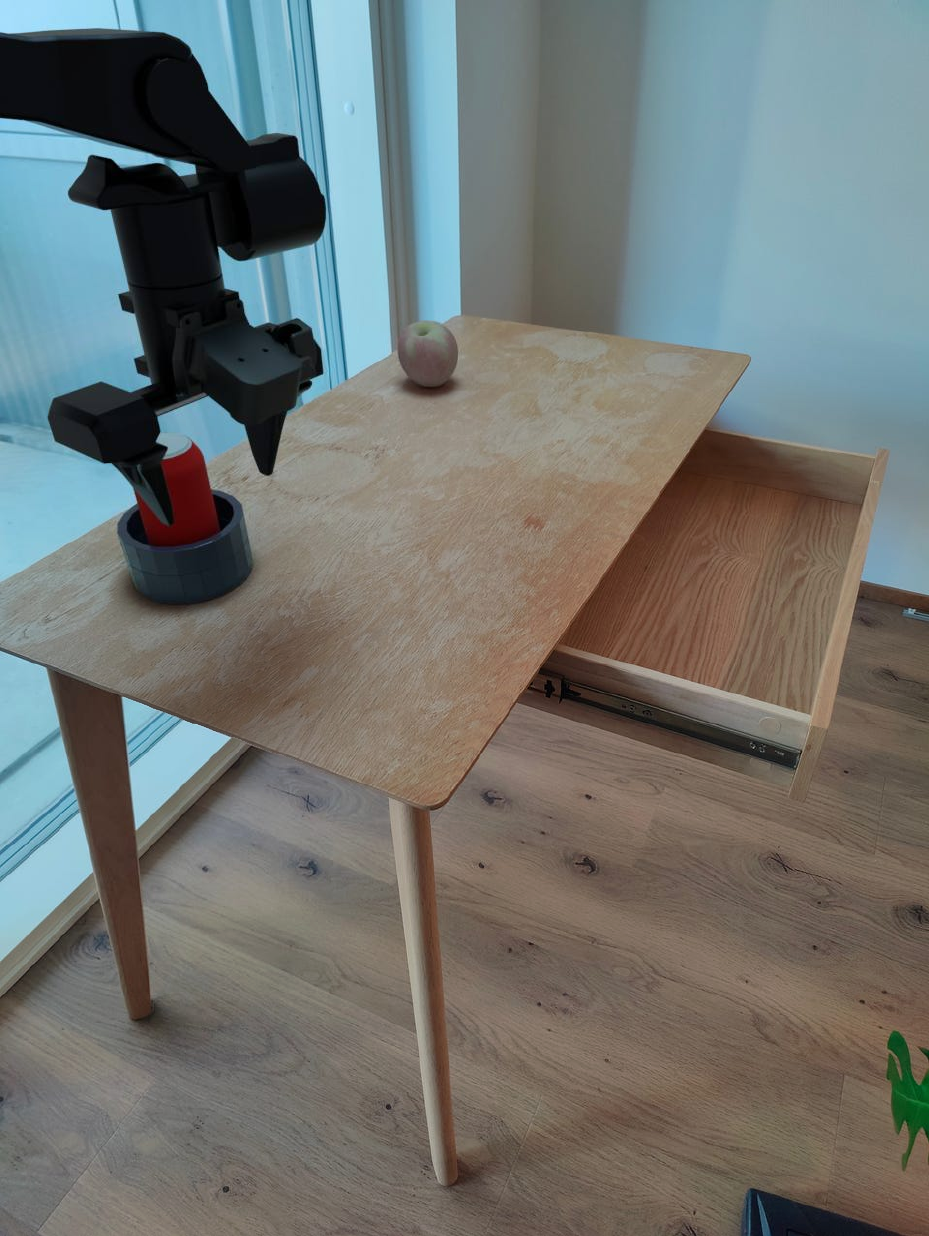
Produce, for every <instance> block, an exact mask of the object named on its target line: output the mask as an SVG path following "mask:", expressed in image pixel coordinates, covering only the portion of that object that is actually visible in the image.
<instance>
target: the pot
mask: <svg viewBox="0 0 929 1236" xmlns="http://www.w3.org/2000/svg"><path fill="white" fill-rule="evenodd" d="M211 491H212V495H213V500H214V505H215V509H216V514H217V518H218V523H219V527H220V532H219V533H217V534H215V535H214V536H212V537H210V538H208V539H205V540H202V541H199V542H196V543H193V544H187V545H181V546H175V547H156V546H151V545H149V542H148V539H147V535H146V532H145V528H144V525H143V521H142V518H141V514H140V511H139V507H138V504H137V503H135V504H134V505H133V506H132V507H130V508H129V509H128V510H126V511H125V512H124V513H123V514H122V516H121V517H120V519H119V520H118V522H117V525H116V528H117V529H116V534H117V537H118V540H119V544H120V548H121V551H122V553H123V556H124V560H125V563H126V567H127V570H128V573H129V576H130V580H131V581H132V583H133V586H134V589H135V590H136V591H137V592H138V593H139V595H141V596H142V597H144V598H146V599H148V600H150V601H152V602H156V603H160V604H164V605H165V604H166V605H190V604H191V605H192V604H197V603H198V604H199V603H202V602H206V601H211V600H213V599H216V598H219V597H222V596H224V595H226V594H228V593H229V592H231V591H233V590H234V589H236V588H237V587H239V586H240V585H241V584H242V583H243V582H245V581H246V579H248V577H249V575H250V574H251V571H252V569H253V565H254V559H253V554H252V550H251V549H252V548H251V543H250V539H249V534H248V529H247V524H246V519H245V514H244V509H243V504H242V503H241V502H240V501H239V500H238V499H237V498H236V497H235V496H234V495H232V494H229V493H227V492H225V491H222V490H218V489H212V488H211Z"/></svg>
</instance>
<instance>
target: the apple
mask: <svg viewBox="0 0 929 1236" xmlns="http://www.w3.org/2000/svg"><path fill="white" fill-rule="evenodd" d="M397 358H398V362H399V364H400V366H401V368H402V370H403V372H404V373H405V375H406V376H407V377H408V378H409V379H410V380H411V381H413V382H414V383H416V384H417V385H419V386H422V387H424V388H438V387H440V386H442V385H444V384H445V383H446V382H447V381H448V380H449V379H450V378H451V377H452V376H453V374H454V373H455V370H456V368H457V365H458V360H459V346H458V343H457V339H456V338H455V336H454V334H453V333H452V331H451V330H450V329H449V328H448V327H447V326H445V324H443V323H441V322H439V321H436V320H427V319H426V320H419V321H416V322H412V323H410V324H409V325H407V326H406V327H405V328H404V329H403V330H402V332H401V334H400V336H399V338H398V344H397Z"/></svg>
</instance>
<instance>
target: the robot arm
mask: <svg viewBox="0 0 929 1236" xmlns="http://www.w3.org/2000/svg"><path fill="white" fill-rule="evenodd" d="M0 119H3V120H15V121H24V122H28V123H32V124H35V125H37V126H41V127H44V128H47V129H51V130H54V131H57V132H61V133H63V134H67V135H71V136H75V137H77V138H81V139H85V140H89V141H91V142H95V143H99V144H102V145H106V146H111V147H114V148H115V147H116V148H120V149H125V150H129V151H134V152H139V153H144V154H149V155H152V156H154V157H155V158H159V159H166V160H169V161H174V162H177V163H178V162H179V163H184V164H189V165H193V166H194V168H195V173H191V174H184V175H179V174H178V173H177V172H176V171H175V170H174V169H172V168H171V167H170V166H168V165H166V164H164V163H161V162H152V163H146V164H138V165H137V164H136V165H131V166H124V167H120V165H118V163H117V162H116V161H115V160H114V159H113V158H110V157H106V156H101V155H96V154H90V155H88V157H87V162H86V164H85V167H84V169H83V171H82V172H81V174H80V175H78V177H77V178H76V179H75V181H74V182H73V183H72V184H71V186H70V187H69V188H68V190H67V196H68V199H69V200H70V201H72V203H76V204H78V205H79V204H80V205H84V206H86V207H90V208H93V209H96V210H101V211H110V213H111V218H112V222H113V226H114V231H115V235H116V239H117V243H118V248H119V252H120V256H121V260H122V264H123V269H124V273H125V278H126V282H127V287H128V290H127V291H124V292H121V293H118V294H117V296H118V299H119V304H120V308H121V311H123V312H126V313H130V314H132V315H134V317H135V321H136V325H137V329H138V334H139V338H140V342H141V347H142V352H143V354H142V355H140V356H137V357H134V358H133V362H134V366H135V368H136V374H138V375H141V376H144V377H146V378H149V381H150V384H149V385H146V386H144V387H140V388H139V389H136V390H133V391H131V392H130V391H128V390H125V389H123V388H120V387H117V386H114V385H112V384H110V383H107V382H104V381H98V382H94V383H93V384H90V385H86V386H84V387H81V388H78V389H75V390H72V391H70V392H67V393H64V394H61V395H59V396H56V397H53V398H52V400H51V404H50V405H49V408H48V413H47V416H46V417H47V421H48V424H49V428H50V430H51V433H52V436H53V437H52V438H53V439H54V442H55V443H57V444H60V445H61V446H64V447H66V448H68V449H70V450H72V451H74V452H77V453H79V454H81V455H84V456H85V457H89V458H91V459H92V460H95V461H97V462H99V463H101V464H104V465H105V464H111V465H112V466H113V467H114V468H115V469H116V470H117V471H118V472H119V473H120V474H121V475H122V476H123V477H124V479H126V481H127V482H128V483H129V484H130V486H131V487H132V489H133V488H134V489H135V490H136V492H137V493H138V494H139V495H140V497H141V498H142V499H143V500H144V502H145V503H146V504H147V505H148V506H149V508H150V509H151V510H152V511H153V513H154V514H155V515H156V516H157V517H158V519H159V520H160V521H161V522H162V523H163V524H166V525H168V526H172V525H174V524H175V520H174V511H173V505H172V502H171V498H170V494H169V490H168V487H167V483H166V479H165V475H164V472H163V468H162V460H163V458H164V456H165V454H166V452H167V450H168V447H167V446H165V445H162V444H160V443H157V442H156V440H157V438H158V436H159V434H160V433H162V430H161V426H160V421H159V417H160V416H163V415H166V414H167V413H170V412H173V411H175V410H178V409H180V408H183V407H186V406H188V405H190V404H192V403H195V402H198V401H200V400H202V399H206V398H207V397H209V399H211V400H213V401H214V402H215V403H216V404H217V405H219V406H220V407H221V408H223V409H224V410H225V411H226V412H228V414H229V416H230V417H231V419H232V420H234V421H235V422H237V423H238V424H240V425H242V426H244V429H245V433H246V436H247V440H248V444H249V447H250V451H251V454H252V457H253V459H254V462H255V464H256V467H257V470H258V472H259V473H260V474H261V475H264V476H265V477H269V476H272V475H273V473H274V470H275V465H276V460H277V456H278V451H279V446H280V442H281V438H282V433H283V428H284V424H285V422H286V418H287V414H288V412H290V411H291V410H293V409H295V407H296V406H297V403H298V398H300V396H301V395H302V394H303V393H304V392H307V391H308V390H310V389H311V387H312V385H313V379H315V378H317V377H320V376H323V375H324V373H325V372H324V363H323V353H322V348H321V346H320V345H319V343H318V342H317V341H316V339H315V337H314V332H313V328H312V327H311V326H309V325H308V324H307V323H306V322H304V321H303V320H301V319H300V318H298V317H296V318H293V319H292V318H291V319H290V320H287V321H284V322H281V323H279V324H275V323H273V322H265V323H262V324H259V325H257V326H253V325H252V324H250V322H249V320H248V318H247V315H246V312H245V306H244V305H245V304H244V302H243V300H242V299H241V298H240V292H239V291H237V290H232V289H229V288H226V286H225V282H224V275H223V269H222V263H221V258H220V257H221V256H220V251H219V248H220V249H221V250H222V251H223V252H224V253H225V255H227V256H228V257H230V258H231V259H233V260H234V261H237V262H246V261H250V260H255V259H258V258H264V257H268V256H271V255H275V254H279V253H280V254H281V253H284V252H289V251H293V250H296V249H301V248H304V247H309V246H313V245H315V244H317V242H318V241H319V240H320V238H321V237H322V236H323V234H324V230H325V227H326V221H327V205H326V198H325V195H324V193H322V192H321V191H322V190H321V187H320V184H319V182H318V180H317V177H316V175H315V173H314V171H313V170H312V168H311V167H310V165H309V163H307V162H306V161H305V160H304V159H303V158H302V156H300V146H299V139H298V137H297V136H296V135H293V134H286V133H281V132H272V133H265V134H261V135H260V136H258V137H256V138H253V139H248V140H247V139H245V137H244V136H243V135H242V134H241V132H240V131H239V129H238V128H237V126H236V125H235V124H234V123H233V121H232V120H231V119H230V117H229V115H227V113H226V112H225V110H224V109H223V108H222V106H221V105H220V104H219V102H218V101H217V100H216V98H215V96H214V95H213V94H212V93H211V92H210V90H209V82H208V81H207V78H206V76H205V72H204V70H203V68H202V65H201V63H200V62H199V60H197V57H196V56H195V55H194V54H193V51H192V48H191V47H190V45H189V44H187V43H186V42H185V41H184V40H182V39H181V38H180V37H177V36H175V35H172V34H169V33H166V32H163V31H162V32H161V31H150V30H146V31H145V30H136V29H135V30H132V29H120V28H119V29H117V28H103V27H92V28H73V29H72V28H71V29H50V30H49V29H47V30H38V31H37V30H36V31H29V32H28V31H27V32H26V31H25V32H12V33H7V32H2V31H0Z"/></svg>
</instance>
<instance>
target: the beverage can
mask: <svg viewBox="0 0 929 1236" xmlns="http://www.w3.org/2000/svg"><path fill="white" fill-rule="evenodd" d="M156 442H157V443H160V444H162V445H165V446H167V447H168V450H167V452H166V454H165V456H164V458H163V460H162V468H163V472H164V475H165V479H166V483H167V487H168V490H169V494H170V498H171V502H172V505H173V511H174V520H175V524H174V525H172V526H168V525H166V524H163V523H162V522H161V521H160V520H159V519H158V517H157V516H156V515H155V514H154V513H153V511H152V510H151V509H150V508H149V506H148V505H147V504H146V503H145V502H144V500H143V499H142V498H141V497H140V495H139V494H138V493H137V492H136V490H135V489H134V488H133V487H132V489H133V494H134V496H135V500H136V504H138V507H139V511H140V514H141V518H142V521H143V525H144V528H145V532H146V535H147V539H148V542H149V545H151V546H156V547H175V546H181V545H187V544H193V543H196V542H199V541H202V540H205V539H208V538H210V537H212V536H214V535H215V534H217V533H219V532H220V527H219V523H218V518H217V514H216V509H215V505H214V500H213V495H212V491H211V489H212V487H211V482H210V478H209V474H208V473H209V472H208V468H207V464H206V461H205V456H204V453H203V452H202V450H201V448H200V447H199V446H198V445H197V444H196V443H195V442H194V441H193V440H192V439H191V438H190V437H189V436H187V435H185V434H181V433H178V432H160V434H159V436H158V438H157V440H156Z"/></svg>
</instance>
